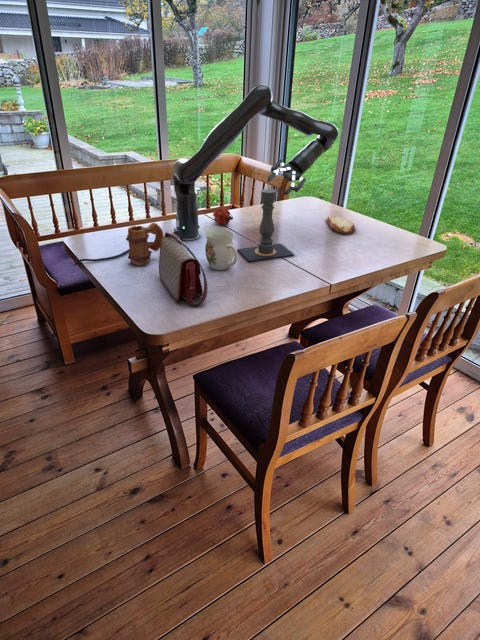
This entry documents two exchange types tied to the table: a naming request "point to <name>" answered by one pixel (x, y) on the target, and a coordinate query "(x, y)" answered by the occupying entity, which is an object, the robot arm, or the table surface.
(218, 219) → the dragon fruit
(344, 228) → the bread slice
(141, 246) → the mug
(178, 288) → the handbag
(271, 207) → the candle holder
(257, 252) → the placemat
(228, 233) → the pitcher
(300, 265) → the table surface
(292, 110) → the robot arm
